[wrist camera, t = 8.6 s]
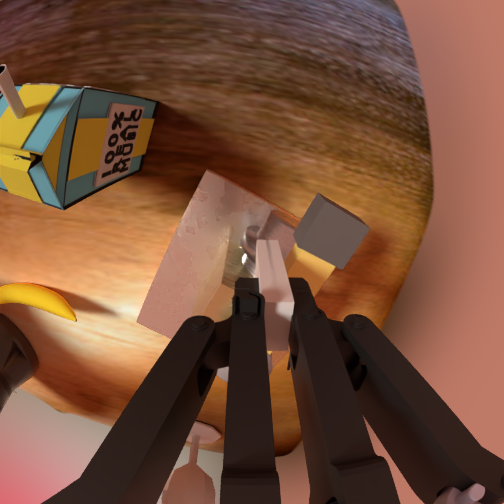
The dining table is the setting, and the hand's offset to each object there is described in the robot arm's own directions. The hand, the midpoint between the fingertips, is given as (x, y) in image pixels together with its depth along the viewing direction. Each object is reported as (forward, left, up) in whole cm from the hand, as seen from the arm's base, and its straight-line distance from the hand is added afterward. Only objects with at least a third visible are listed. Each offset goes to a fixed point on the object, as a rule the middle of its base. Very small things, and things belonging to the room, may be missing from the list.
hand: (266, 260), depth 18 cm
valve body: (-9, 0, -11) cm, 14 cm away
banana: (-24, +21, -11) cm, 34 cm away
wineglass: (-41, -11, -11) cm, 44 cm away
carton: (+1, +16, -11) cm, 20 cm away
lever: (-2, -2, -1) cm, 4 cm away
